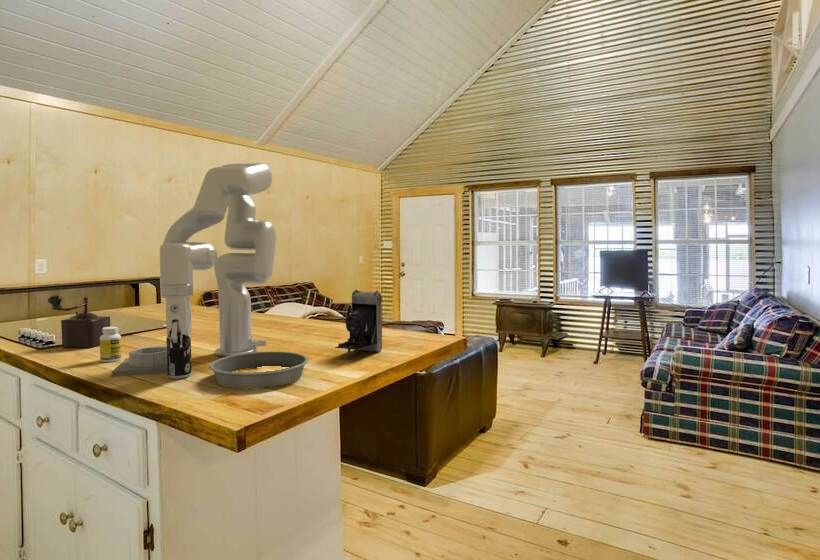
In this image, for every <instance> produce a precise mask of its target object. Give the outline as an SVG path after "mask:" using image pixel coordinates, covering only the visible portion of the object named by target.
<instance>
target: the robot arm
mask: <svg viewBox="0 0 820 560" xmlns="http://www.w3.org/2000/svg"><path fill="white" fill-rule="evenodd" d="M272 182H273V173H272V170H271V168H270V167H269V166H268V165H267V164H265V163H261V162H255V163H254V162H253V163H227V164H223V165H221V166H216V167H213V168H210V169H208V170H207V171H206V173H205V175H204V178H203V181H202V183H201V186H200V188H199V192H198V194H197V196H196V198H195V199H196V200H195V203H194V205H193V207H192V208H191V209H189V210H188V211H187V212H185V213H184V214H182V215H181V216H180V217H179V218H178V219H177V220H176V221H175V222H174V223H173V224H172V225H171V226H170V227H169V229H168V230H167V232H166V235H165V237H164V240H163V243H162V244H161V245H160V247H159V269H160V270H159V271H160V273H159V275H160V296H161V298H162V299H165V320H166V321H165V322H166V323H165V324H166V334H167V336H169V337H170V363H171V364H175V363H184V347H183V334H185V336H188V335H190V333H191V332H192V330H193V323H192V309H191V308H192V307H191V300H190V298H191V297H194V279H193V274H194V272H193V271H206V270H209V269H212V268H213V267H214V269H213V270H214V274H215V279H216V284H217V289H218V290H217V292H218V321H219V323H218V324H219V329H218V330H219V347H218V348H216V349H215V350H214V355H216V356H219V357H228V356H233V355H238V354H245V353H253V352H258V351H257V349H258V348H257V347H266V346H267V339H254V336H253V335H252V308H251V307H252V302H251V301H252V300H251V295H250V292H249V290H248V289H247V287H246V286H245V284H246V285H247V284H251V285H253V284H255V285H258V284H259V285H260V284H261V285H263V284H265V283H268V282H269V281H270V279H271V277H272V275H273V267H274V259H275V253H276V244H277V243H276V242H277V235H276V228H275V227H274V225H273V223H272V222H269V221H267V220H261V219H259V220H256V215H257V214H256V213H257V207H256V204H255V203H254V201H253V199H252V198H251V197H250V196H252V195H256V194H259V193H263V192H265V191H267V190H268V189H269V188H271V185H272ZM226 212H227V216H226ZM225 216H226V222H225V231H224V244H225V246H226V247H227V248H228V249H230V250H234V251H255V252H246V253H245V252H226V253H223V254H221V255H219V256H218V252H217V249H216V247H215V246H213V245H212V244H210V243H208V242H199V241H198V242H197V241H196V242H195V241H193V242H192V241H188V240H189V239H190V238H191V237H193V235H195V234H197V233H199V232H201V231H203V230H206V229H208V228H211V227H213V226H216V225H218V224H219V223H221V222H222V221H223V220H224V219H225ZM170 331H171V332H170ZM169 332H170V333H169ZM178 333H181V335H178ZM179 338H180V339H179Z"/></svg>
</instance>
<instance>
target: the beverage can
mask: <svg viewBox="0 0 820 560" xmlns="http://www.w3.org/2000/svg"><path fill="white" fill-rule="evenodd" d="M170 332H171V331H170ZM170 332H169V333H170ZM178 335H181V333H178ZM165 339H166V346H167V371H168V372H167V377H168V378H170V379H174V380H180V379H186V378H189V376H191V375H192V373H193V365H192V344H191V343H192V337H191V335H190V334H189V335H188V336H185V334H183V347H184V363H175V364H171V363H170V337H169V336H168V335H167V337H166V338H165ZM179 339H180V338H179Z"/></svg>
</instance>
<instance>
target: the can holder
mask: <svg viewBox="0 0 820 560" xmlns="http://www.w3.org/2000/svg"><path fill="white" fill-rule="evenodd" d="M128 353H129V355H128V356H129V357H126V358H125V359H124V360H123V361H122V362H121V363H119V365H118V366H116V367H115V368H114V369H113V370H111V376H112V377H115V376H118V377H119V376H131V375H134V376H135V375H145V374H146V375H147V374H159V373H161V374H162V373H168V371H167V345H166V346H165V345H164V346H163V345H156V346H144V347H139V348H135V349H132V350H130V351H129V352H128Z"/></svg>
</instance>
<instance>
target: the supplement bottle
mask: <svg viewBox="0 0 820 560" xmlns="http://www.w3.org/2000/svg"><path fill="white" fill-rule="evenodd" d="M102 332H103V335H102V336H101V337H100V346H99V352H100V353H99V355H100V356H99V357H100V359H99V360H100V362H103V363H111V362H117V361H121V359H122V356H123V355H122V336H121V334H119V333H118V332H119V326H110V327H105V328H102Z"/></svg>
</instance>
